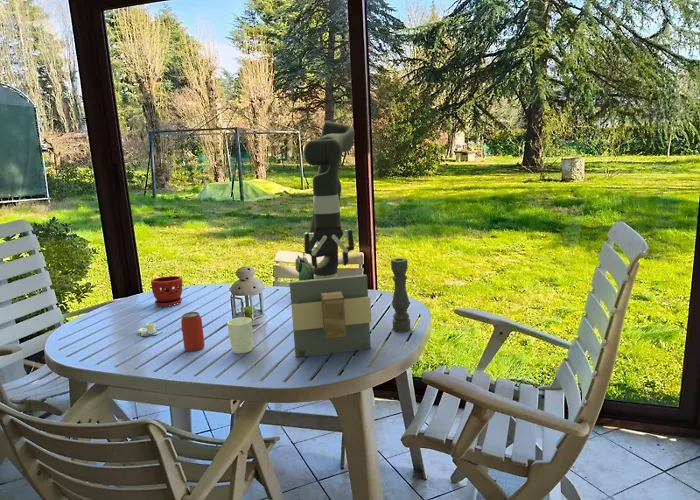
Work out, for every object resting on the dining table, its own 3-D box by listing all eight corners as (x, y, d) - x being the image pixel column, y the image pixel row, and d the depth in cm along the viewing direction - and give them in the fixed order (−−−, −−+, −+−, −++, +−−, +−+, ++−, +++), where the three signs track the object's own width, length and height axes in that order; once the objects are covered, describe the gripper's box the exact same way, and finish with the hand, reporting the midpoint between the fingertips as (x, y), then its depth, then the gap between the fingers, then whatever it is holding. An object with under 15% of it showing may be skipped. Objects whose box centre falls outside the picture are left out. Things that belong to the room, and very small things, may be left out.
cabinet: (322, 326, 152) (320, 290, 149) (341, 324, 153) (339, 288, 150) (326, 340, 142) (323, 301, 139) (346, 337, 143) (344, 298, 140)
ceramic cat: (296, 292, 228) (293, 250, 225) (309, 290, 231) (306, 249, 227) (309, 303, 210) (306, 257, 206) (324, 300, 213) (320, 255, 209)
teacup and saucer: (135, 334, 183) (133, 324, 183) (155, 328, 189) (154, 318, 188) (145, 339, 178) (144, 329, 177) (166, 333, 183) (165, 322, 182)
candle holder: (409, 332, 169) (407, 261, 164) (391, 331, 170) (389, 261, 165) (411, 326, 175) (408, 257, 170) (393, 325, 176) (391, 258, 171)
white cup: (242, 356, 156) (239, 326, 154) (225, 352, 160) (222, 323, 158) (259, 347, 163) (256, 318, 161) (242, 343, 167) (239, 315, 165)
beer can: (187, 345, 168) (183, 312, 166) (206, 343, 169) (202, 310, 166) (182, 352, 162) (178, 318, 160) (202, 351, 162) (198, 316, 160)
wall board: (294, 347, 160) (288, 277, 156) (365, 339, 164) (362, 270, 160) (296, 361, 149) (290, 285, 145) (372, 352, 153) (369, 278, 148)
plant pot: (178, 307, 215) (175, 281, 213) (149, 309, 215) (145, 282, 213) (188, 299, 228) (185, 274, 225) (161, 300, 228) (157, 275, 226)
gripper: (302, 214, 135) (306, 271, 138) (353, 210, 137) (356, 266, 140) (301, 211, 142) (305, 265, 145) (349, 208, 144) (352, 261, 147)
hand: (330, 266), depth 142 cm, fingers open, 8 cm apart
